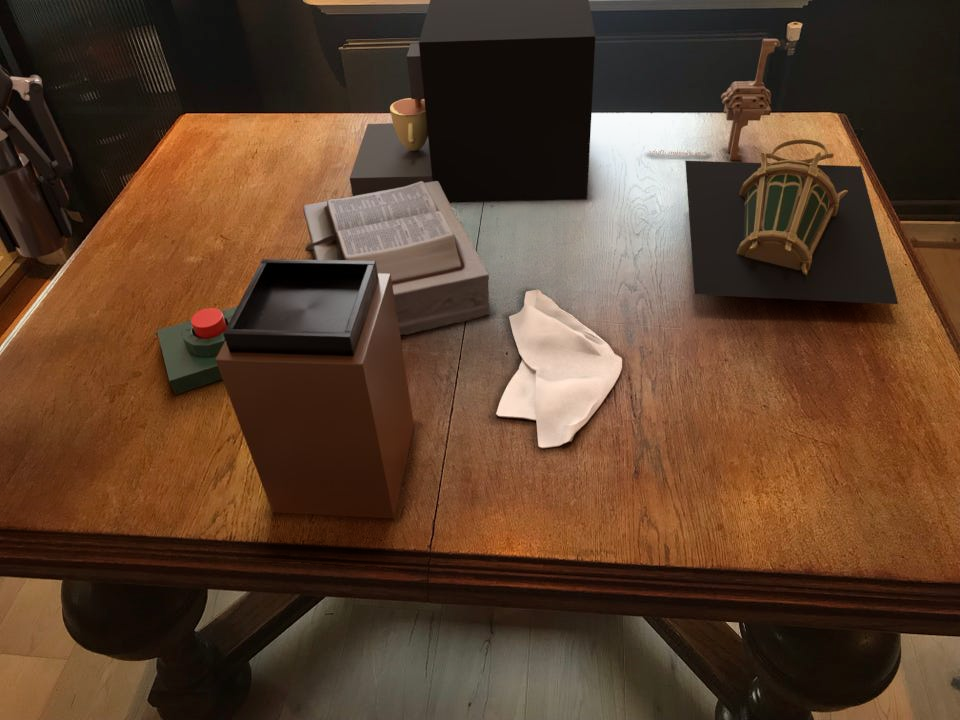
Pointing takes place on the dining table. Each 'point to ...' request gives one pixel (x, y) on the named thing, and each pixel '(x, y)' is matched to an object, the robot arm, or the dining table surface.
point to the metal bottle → (26, 204)
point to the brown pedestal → (321, 386)
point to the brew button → (208, 323)
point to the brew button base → (191, 355)
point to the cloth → (557, 371)
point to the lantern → (785, 231)
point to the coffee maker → (491, 105)
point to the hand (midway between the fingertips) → (40, 238)
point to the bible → (407, 251)
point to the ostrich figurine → (744, 103)
